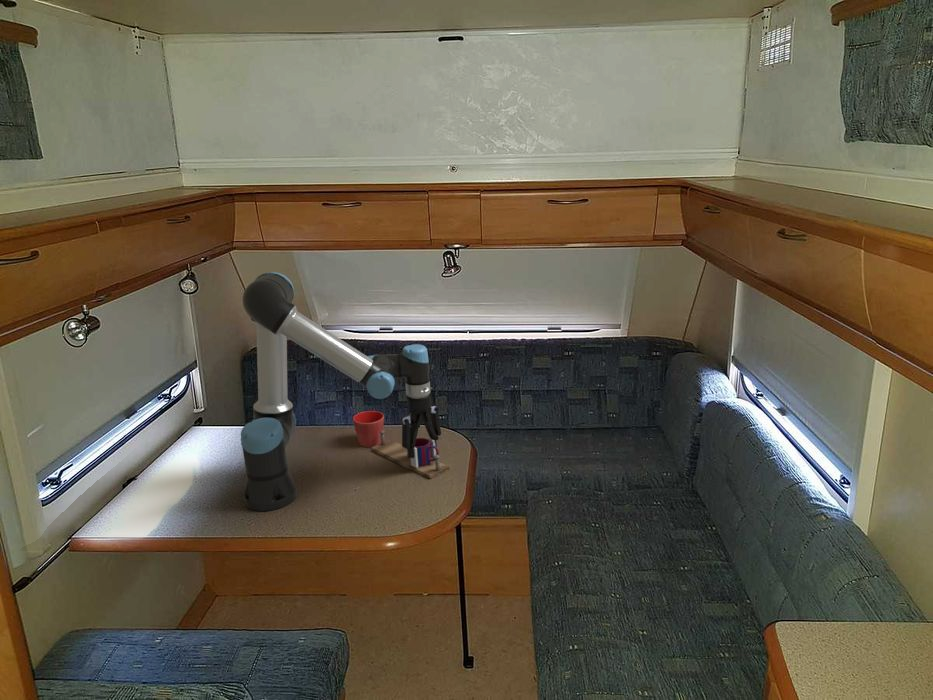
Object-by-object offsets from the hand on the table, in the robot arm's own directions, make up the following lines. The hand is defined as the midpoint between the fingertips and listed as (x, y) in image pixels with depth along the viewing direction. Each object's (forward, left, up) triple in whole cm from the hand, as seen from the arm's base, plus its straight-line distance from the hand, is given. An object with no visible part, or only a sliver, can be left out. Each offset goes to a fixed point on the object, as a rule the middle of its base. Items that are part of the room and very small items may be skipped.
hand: (423, 461), depth 216 cm
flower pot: (-23, +16, -2) cm, 28 cm away
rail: (-6, +4, -2) cm, 7 cm away
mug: (0, 0, -1) cm, 1 cm away
